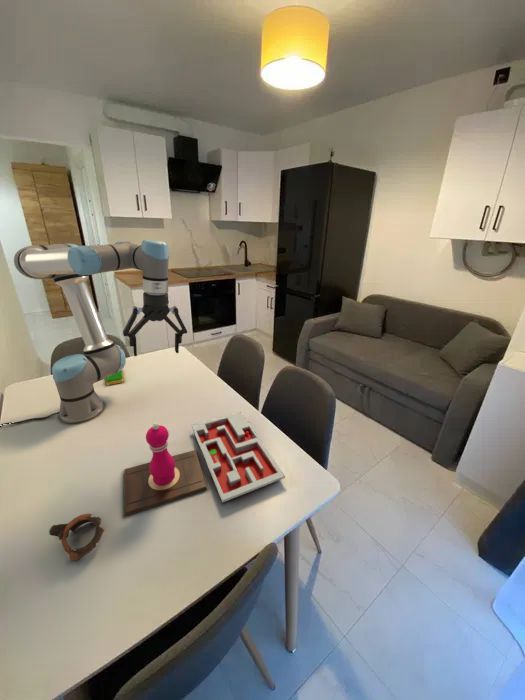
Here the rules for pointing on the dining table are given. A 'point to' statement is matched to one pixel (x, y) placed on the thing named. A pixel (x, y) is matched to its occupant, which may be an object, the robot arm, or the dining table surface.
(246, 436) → the maze game
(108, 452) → the dining table surface
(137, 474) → the board
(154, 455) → the pepper mill
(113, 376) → the dish sponge
